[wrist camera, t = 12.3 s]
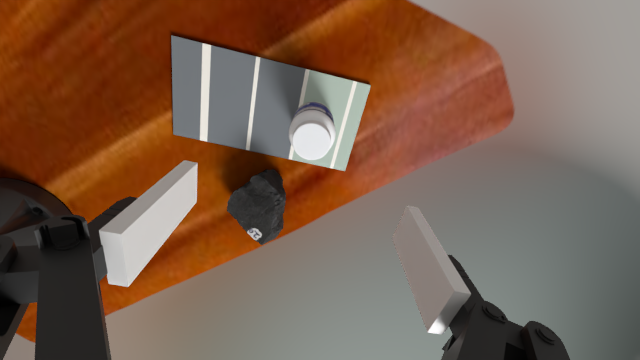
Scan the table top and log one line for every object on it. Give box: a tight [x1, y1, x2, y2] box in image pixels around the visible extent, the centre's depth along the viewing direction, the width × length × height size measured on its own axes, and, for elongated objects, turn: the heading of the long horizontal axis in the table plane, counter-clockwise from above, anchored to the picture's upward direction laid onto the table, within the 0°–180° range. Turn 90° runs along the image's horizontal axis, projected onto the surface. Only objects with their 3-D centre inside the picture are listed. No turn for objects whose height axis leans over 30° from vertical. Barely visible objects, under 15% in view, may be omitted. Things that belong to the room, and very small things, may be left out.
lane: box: [171, 35, 371, 171], centre depth 34 cm, size 24×12×1 cm, turn 77°
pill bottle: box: [289, 102, 336, 160], centre depth 30 cm, size 5×5×9 cm
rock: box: [227, 169, 286, 245], centre depth 38 cm, size 10×9×6 cm
